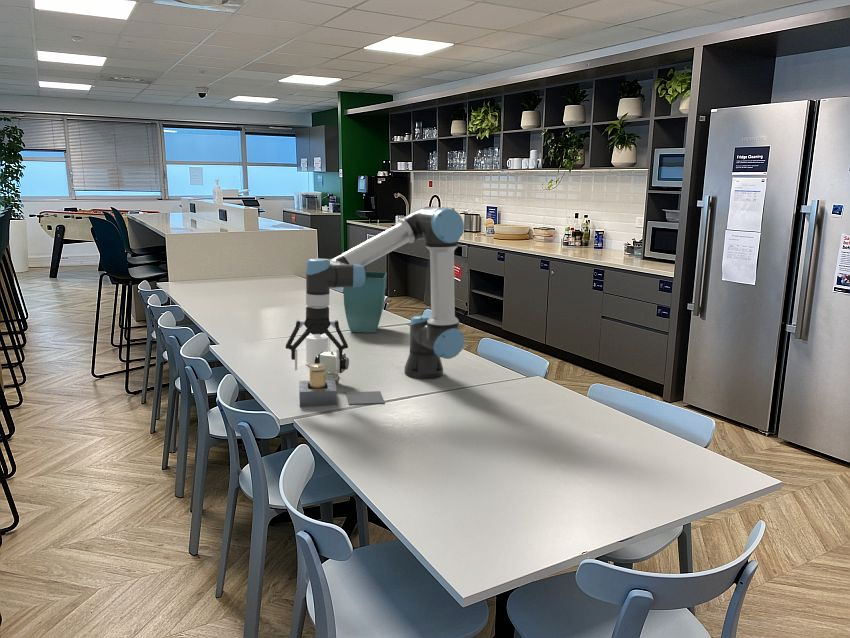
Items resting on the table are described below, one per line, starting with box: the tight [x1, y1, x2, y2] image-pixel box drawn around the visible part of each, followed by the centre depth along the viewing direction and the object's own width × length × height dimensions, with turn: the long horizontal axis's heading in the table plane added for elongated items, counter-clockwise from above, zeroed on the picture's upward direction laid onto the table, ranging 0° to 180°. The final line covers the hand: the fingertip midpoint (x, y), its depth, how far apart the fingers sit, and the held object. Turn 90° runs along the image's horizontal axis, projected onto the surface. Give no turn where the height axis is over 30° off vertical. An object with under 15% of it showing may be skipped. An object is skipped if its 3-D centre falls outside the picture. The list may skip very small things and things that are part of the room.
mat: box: [345, 390, 386, 406], centre depth 216 cm, size 12×12×1 cm
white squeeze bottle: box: [305, 333, 331, 367], centre depth 253 cm, size 10×9×20 cm
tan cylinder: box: [309, 364, 327, 389], centre depth 212 cm, size 5×5×12 cm
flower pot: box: [342, 271, 388, 334], centre depth 314 cm, size 20×20×28 cm
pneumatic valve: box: [315, 350, 350, 384], centre depth 231 cm, size 6×12×12 cm, turn 78°
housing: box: [298, 380, 338, 408], centre depth 212 cm, size 12×12×5 cm
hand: (316, 368), depth 210 cm, fingers open, 13 cm apart
